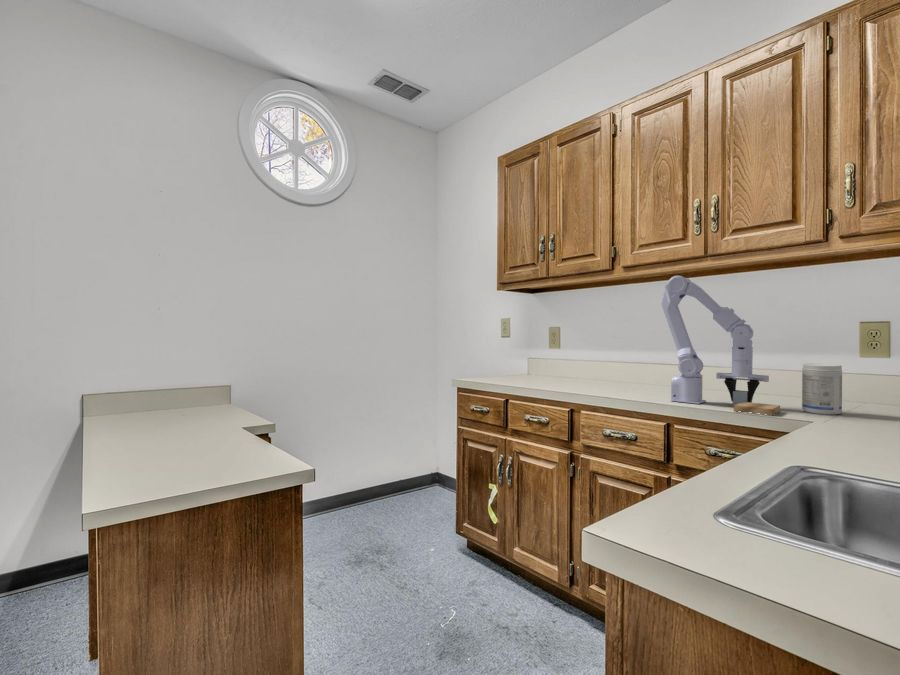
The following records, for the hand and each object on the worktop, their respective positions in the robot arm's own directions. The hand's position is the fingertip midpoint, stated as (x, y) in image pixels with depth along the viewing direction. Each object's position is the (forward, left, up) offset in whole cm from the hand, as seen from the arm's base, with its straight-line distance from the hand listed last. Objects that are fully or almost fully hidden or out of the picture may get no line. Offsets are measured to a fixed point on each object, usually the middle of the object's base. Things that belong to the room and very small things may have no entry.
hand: (741, 402), depth 152 cm
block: (0, 0, -1) cm, 1 cm away
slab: (+6, -8, -1) cm, 10 cm away
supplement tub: (+20, +5, -2) cm, 21 cm away
